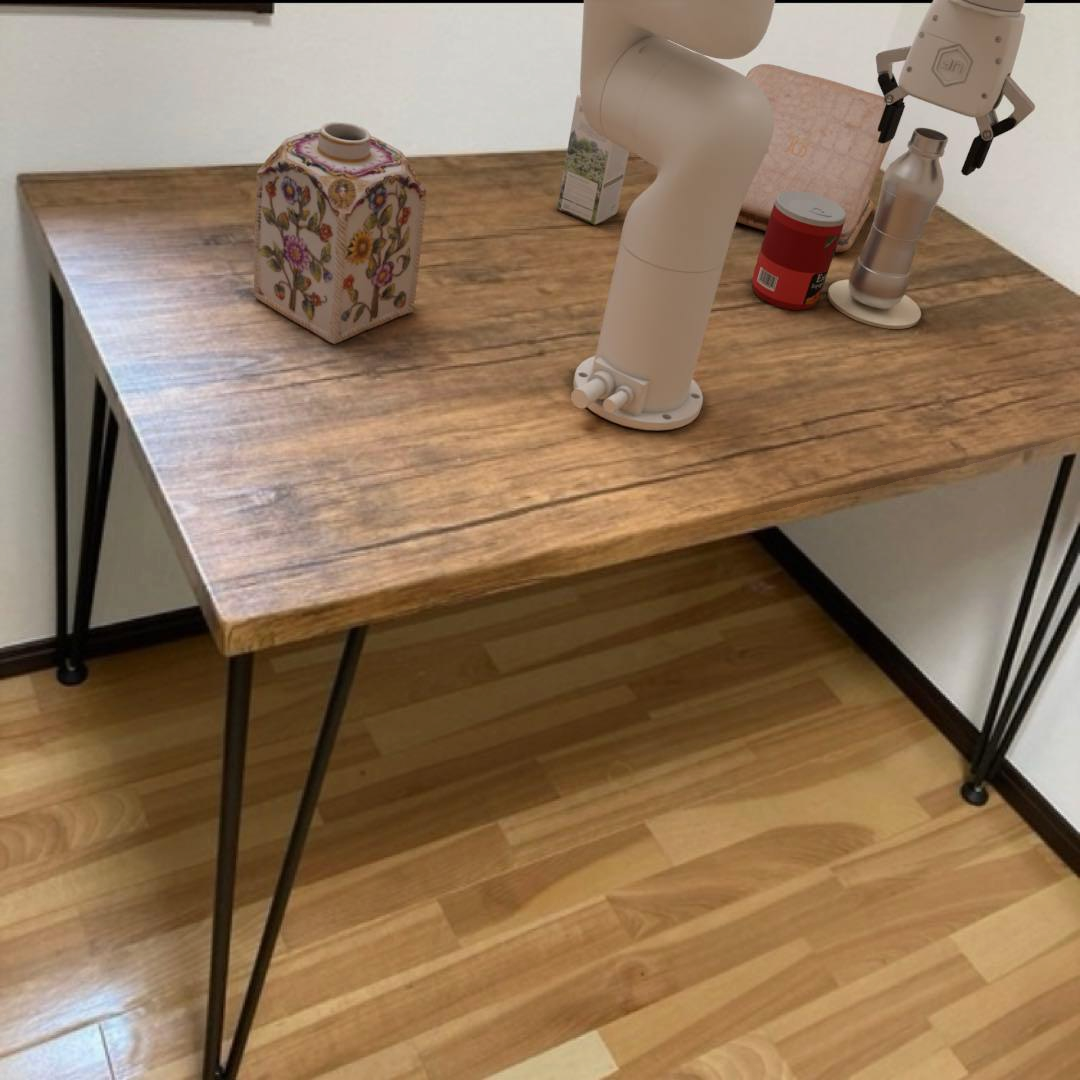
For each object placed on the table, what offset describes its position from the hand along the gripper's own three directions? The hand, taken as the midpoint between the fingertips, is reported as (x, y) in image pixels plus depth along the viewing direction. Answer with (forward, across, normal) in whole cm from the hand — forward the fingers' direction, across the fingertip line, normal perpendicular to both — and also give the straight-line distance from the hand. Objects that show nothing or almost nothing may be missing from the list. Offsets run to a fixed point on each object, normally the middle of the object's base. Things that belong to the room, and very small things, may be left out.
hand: (926, 156), depth 134 cm
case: (+18, -19, +17) cm, 31 cm away
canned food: (+18, -8, -6) cm, 21 cm away
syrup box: (+19, -35, -7) cm, 41 cm away
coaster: (+18, 0, +1) cm, 18 cm away
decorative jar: (+19, -38, -49) cm, 65 cm away
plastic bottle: (+18, 0, 0) cm, 18 cm away
